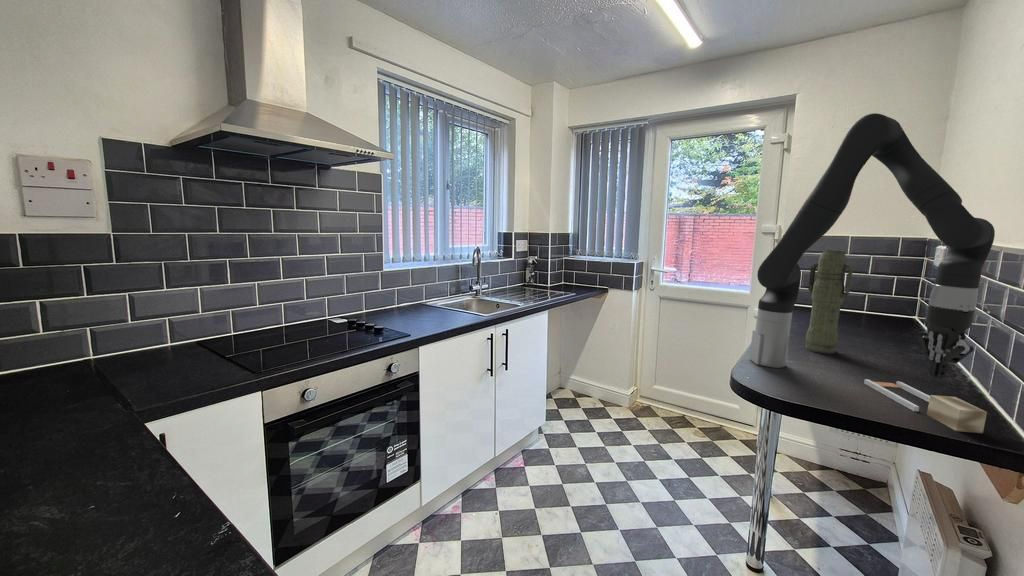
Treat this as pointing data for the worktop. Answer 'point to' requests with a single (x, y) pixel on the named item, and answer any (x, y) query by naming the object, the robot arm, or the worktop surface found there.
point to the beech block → (957, 414)
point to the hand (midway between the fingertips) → (936, 376)
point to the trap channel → (906, 403)
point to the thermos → (827, 301)
